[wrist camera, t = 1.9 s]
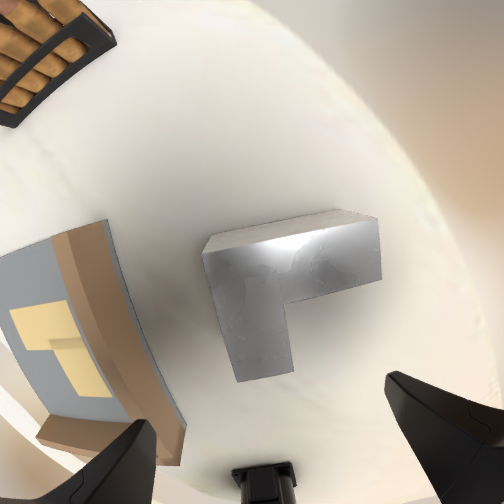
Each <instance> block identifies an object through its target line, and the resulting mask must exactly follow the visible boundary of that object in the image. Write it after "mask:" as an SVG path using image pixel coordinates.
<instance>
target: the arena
mask: <svg viewBox="0 0 504 504" xmlns="http://www.w3.org/2000/svg"><path fill="white" fill-rule="evenodd" d="M0 327H1V329H2V331H3V334H4V336H5V338H6V340H7V342H8V344H9V346H10V348H11V350H12V352H13V354H14V356H15V358H16V360H17V362H18V364H19V366H20V367H21V369H22V371H23V373H24V375H25V376H26V378H27V380H28V381H29V383H30V385H31V386H32V388H33V389H34V391H35V393H36V394H37V396H38V397H39V399H40V400H41V402H42V403H43V405H44V406H45V407H46V409H47V410H48V412H49V413H50V415H49V417H48V418H47V420H46V422H45V423H44V424H43V426H42V427H41V429H40V431H39V432H38V434H37V435H36V439H37V440H38V441H39V442H40V443H41V444H42V445H44V446H47V447H51V448H54V449H58V450H61V451H65V452H69V453H73V454H78V455H82V456H88V457H93V458H94V457H95V456H97V455H98V454H99V453H100V452H101V451H102V450H103V449H105V448H106V447H107V446H108V445H109V444H110V443H111V442H112V441H113V440H115V439H116V438H117V437H118V436H119V435H120V434H121V433H122V432H123V431H124V430H125V429H127V428H128V427H129V426H130V425H131V424H132V423H133V422H134V421H135V420H136V419H147V420H148V421H149V422H150V424H151V425H152V427H153V428H154V430H155V431H156V434H157V448H156V465H161V466H180V460H181V454H182V448H183V442H184V436H185V430H186V423H185V421H184V419H183V417H182V416H181V414H180V412H179V410H178V408H177V406H176V404H175V402H174V400H173V398H172V397H171V395H170V393H169V391H168V388H167V386H166V384H165V382H164V380H163V378H162V376H161V374H160V372H159V370H158V367H157V365H156V363H155V361H154V358H153V356H152V354H151V351H150V349H149V347H148V344H147V342H146V339H145V337H144V335H143V332H142V329H141V327H140V324H139V322H138V319H137V316H136V314H135V311H134V308H133V305H132V303H131V300H130V297H129V294H128V291H127V288H126V285H125V282H124V279H123V276H122V272H121V269H120V266H119V262H118V259H117V255H116V252H115V248H114V245H113V241H112V237H111V233H110V229H109V225H108V221H107V220H103V221H100V222H96V223H93V224H89V225H86V226H82V227H79V228H76V229H73V230H69V231H66V232H63V233H60V234H58V235H55V236H52V237H51V238H49V239H46V240H44V241H41V242H38V243H36V244H33V245H30V246H28V247H25V248H23V249H20V250H18V251H15V252H13V253H10V254H8V255H5V256H3V257H1V258H0Z"/></svg>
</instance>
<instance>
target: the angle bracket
mask: <svg viewBox="0 0 504 504" xmlns="http://www.w3.org/2000/svg"><path fill="white" fill-rule="evenodd" d="M201 256H202V260H203V264H204V268H205V272H206V276H207V280H208V284H209V287H210V291H211V295H212V299H213V302H214V306H215V310H216V313H217V317H218V320H219V324H220V327H221V331H222V334H223V338H224V341H225V344H226V348H227V351H228V354H229V358H230V361H231V364H232V367H233V371H234V374H235V377H236V380H237V382H243V381H249V380H255V379H260V378H266V377H271V376H276V375H280V374H285V373H289V372H294V367H293V361H292V355H291V349H290V343H289V337H288V331H287V325H286V319H285V313H284V308H283V304H287V303H291V302H296V301H300V300H304V299H309V298H313V297H317V296H321V295H325V294H329V293H333V292H337V291H341V290H345V289H349V288H353V287H356V286H360V285H364V284H367V283H371V282H375V281H378V280H382V273H381V255H380V241H379V230H378V220H377V218H374V217H370V216H366V215H362V214H357V213H353V212H349V211H345V210H340V209H338V210H333V211H327V212H322V213H316V214H311V215H306V216H301V217H295V218H290V219H285V220H280V221H275V222H270V223H265V224H260V225H255V226H250V227H246V228H241V229H236V230H231V231H227V232H222V233H217V234H213V235H211V237H210V239H209V241H208V242H207V244H206V246H205V248H204V250H203V252H202V253H201Z"/></svg>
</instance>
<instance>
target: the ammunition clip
mask: <svg viewBox="0 0 504 504" xmlns="http://www.w3.org/2000/svg"><path fill="white" fill-rule="evenodd" d="M37 1H38V2H39V4H40V5H41V7H42V8H44V9H45V10H46V11H47V12H49V13H50V14H51V15H52V16H53V17H55V18H53V17H52V16H50V15H49V14H48V13H47V12H45V11H44V10H43V9H42V8H40V7H39V6H37V5H35V4H33V3H30V2H28V1H26V0H0V14H2V15H4V17H5V18H7V19H8V20H10V21H11V22H12V23H13V24H14V26H15V27H16V28H15V27H13V26H9V25H4V24H2V23H0V125H2V126H6V127H10V128H16V127H17V126H18V125H19V124H20V123H21V122H22V121H23V120H24V119H25V118H26V117H27V116H28V115H29V114H30V113H31V112H32V111H33V110H34V109H35V108H36V107H37V106H38V105H39V104H40V103H41V102H42V101H43V100H45V99H46V98H47V97H48V96H49V95H50V94H51V93H52V92H54V91H55V90H56V89H57V88H58V87H59V86H61V85H62V84H63V83H64V82H65V81H67V80H68V79H69V78H70V77H72V76H73V75H74V74H76V73H77V72H78V71H80V70H81V69H82V68H84V67H85V66H86V65H88V64H89V63H91V62H92V61H93V60H95V59H96V58H98V57H99V56H101V55H102V54H104V53H105V52H107V51H108V50H110V49H112V48H113V47H115V46H116V45H117V42H116V40H115V37H114V35H113V32H112V30H111V29H110V28H109V27H108V26H107V25H106V24H105V23H104V22H102V21H101V20H100V19H99V18H98V17H97V16H96V15H95V14H94V13H93V12H92V11H91V10H90V9H89V8H88V7H87V6H86V5H84V4H83V3H82V2H81V1H80V0H37ZM63 25H64V26H63Z"/></svg>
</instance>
